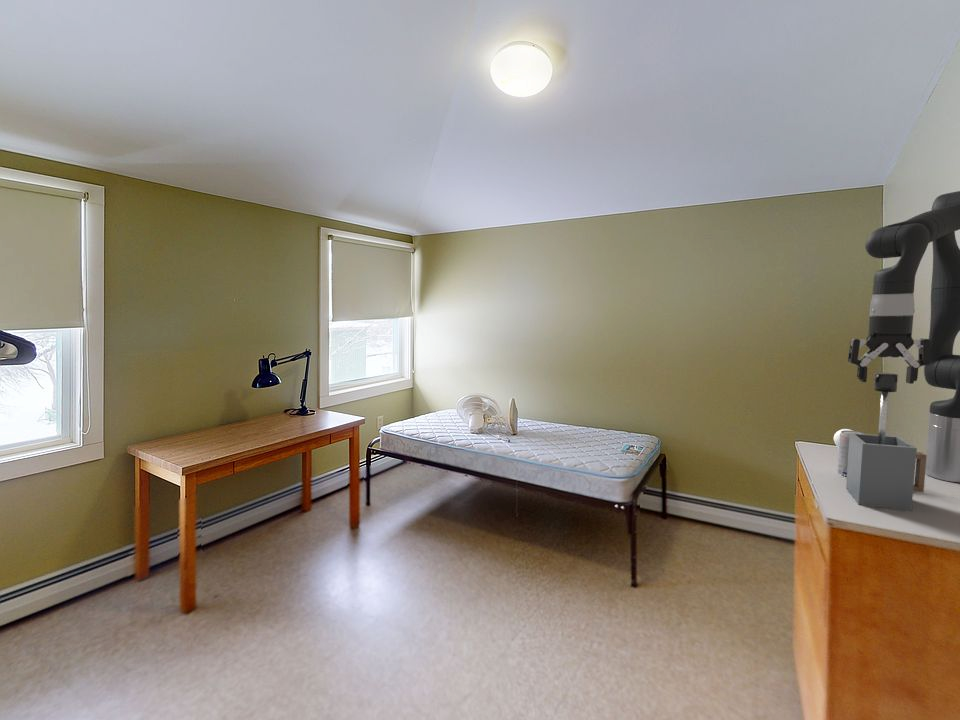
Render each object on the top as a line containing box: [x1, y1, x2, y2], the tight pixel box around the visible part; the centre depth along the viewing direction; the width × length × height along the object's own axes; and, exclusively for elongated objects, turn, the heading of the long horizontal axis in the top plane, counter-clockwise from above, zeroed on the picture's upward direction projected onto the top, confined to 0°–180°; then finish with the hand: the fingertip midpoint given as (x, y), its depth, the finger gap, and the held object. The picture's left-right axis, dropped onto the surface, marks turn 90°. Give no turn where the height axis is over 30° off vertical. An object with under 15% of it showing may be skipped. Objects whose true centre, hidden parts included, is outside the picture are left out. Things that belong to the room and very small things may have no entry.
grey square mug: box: [845, 433, 927, 512], centre depth 107 cm, size 13×10×15 cm
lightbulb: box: [833, 428, 854, 451], centre depth 130 cm, size 6×6×11 cm
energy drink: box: [837, 430, 864, 477], centre depth 123 cm, size 5×5×12 cm
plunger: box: [873, 372, 899, 445], centre depth 106 cm, size 7×7×21 cm
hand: (885, 382), depth 105 cm, fingers open, 8 cm apart
